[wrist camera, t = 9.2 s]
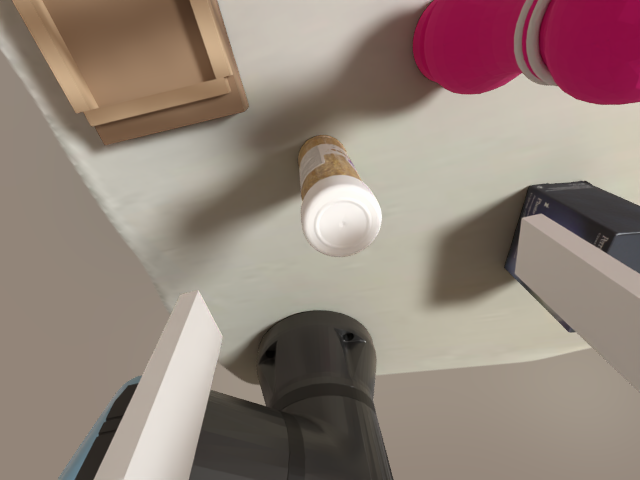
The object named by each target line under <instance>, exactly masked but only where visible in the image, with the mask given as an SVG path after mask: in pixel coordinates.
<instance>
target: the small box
mask: <svg viewBox="0 0 640 480" xmlns="http://www.w3.org/2000/svg"><path fill="white" fill-rule="evenodd" d="M537 214H543V215H545V216H546V217H548V218H550V219H551V220H553V221H554V222H556V223H558V224H559V225H561V226H563V227H564V228H566V229H567V230H569V231H571V232H572V233H574V234H576V235H577V236H579V237H580V238H582V239H584V240H585V241H587V242H589V243H590V244H592V245H594V246H595V247H597V248H598V249H600V250H602V251H603V252H605V253H607V254H608V255H610V256H611V257H613V258H615V259H616V260H618V261H620V262H621V263H623V264H624V265H626V266H628V267H629V268H631V269H633V270H634V271H636V272H638V273H639V274H640V206H639V205H636V204H634V203H632V202H629V201H627V200H625V199H623V198H621V197H618V196H616V195H614V194H611V193H609V192H607V191H604V190H602V189H600V188H598V187H595V186H593V185H592V184H590V183H588V182H587V181H578V182H571V183H558V184H557V183H555V184H540V185H532V186H530V187H529V189H528V192H527V196H526V199H525V202H524V206H523V209H522V212H521V215H520V219H519V222H518V225H517V228H516V232H515V235H514V238H513V241H512V245H511V248H510V251H509V254H508V257H507V261H506V264H505V267H504V268H505V269H506V270H507V271H508V272H509V273H510V274H511V275H512V276H513V277H514V278H515V279H516V280H517V281H518V282H519V283H520V284H521V285H522V286H523V287H524V288H525V289H526V290H527V291H528V292H529V293H530V294H531V295H532V296H533V297H534V298H535V299H536V300H537V301H538V302H539V303H540V304H541V305H542V306H543V307H544V308H545V309H546V310H547V311H548V312H549V313H550V314H551V315H552V316H553V317H554V318H555V319H556V320H557V321H558V322H559V323H560V324H561V325H562V326H563V327H564V328H565V329H566V330H567V331H568V332H575V331H574V330H573V329H572V328H571V327H570V326H569V325H568V324H567V323H566V322H565V321H564V320H563V319H562V318H561V317H560V316H559V315H558V314H557V313H555V312H554V311H553V310H552V309H551V308H550V307H549V306H548V305H547V304H546V303H545V302H544V301H543V300H542V299H541V298H540V297H539V296H538V295H537V294H536V293H535V292H533V291H532V290H531V289H530V288H529V287H528V286H527V285H526V284H525V283H524V282H523V281H522V280H521V279H520V278H519V277H518V276H517V275H516V274H515V267H516V259H517V251H518V243H519V236H520V228H521V220H522V218H523V217H528V216H532V215H537Z"/></svg>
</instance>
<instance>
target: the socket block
mask: <svg viewBox="0 0 640 480" xmlns="http://www.w3.org/2000/svg"><path fill="white" fill-rule="evenodd" d="M12 1H13V3H14V5H15V7H16V8H17V10H18V12H19V14H20V16H21V17H22V19H23V21H24V23H25V24H26V26H27V28H28V30H29V31H30V33H31V35H32V37H33V38H34V40H35V42H36V44H37V45H38V47H39V49H40V51H41V53H42V54H43V56H44V58H45V60H46V61H47V63H48V65H49V67H50V68H51V70H52V72H53V74H54V75H55V77H56V79H57V81H58V82H59V84H60V86H61V88H62V90H63V91H64V93H65V95H66V97H67V98H68V100H69V102H70V104H71V105H72V107H73V109H74V111H75V112H76V113H80V112H83V113H84V114H85V116H86V118H87V120H88V122H89V123H90V125H91V127H92V126H94V127H95V129H96V130H97V132H98V134H99V136H100V138H101V139H102V141H103V143H104V145H108V144H113V143H117V142H121V141H125V140H129V139H133V138H137V137H142V136H146V135H150V134H154V133H158V132H162V131H166V130H171V129H175V128H179V127H183V126H187V125H191V124H195V123H199V122H204V121H208V120H212V119H216V118H220V117H224V116H228V115H233V114H237V113H241V112H245V111H246V109H247V108H248V107H249V104H248V101H247V98H246V94H245V91H244V88H243V85H242V81H241V78H240V75H239V71H238V68H237V65H236V61H235V58H234V55H233V52H232V48H231V45H230V42H229V38H228V35H227V32H226V28H225V25H224V22H223V19H222V15H221V12H220V9H219V5H218V2H217V0H12Z"/></svg>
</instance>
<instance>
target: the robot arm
mask: <svg viewBox="0 0 640 480" xmlns="http://www.w3.org/2000/svg"><path fill="white" fill-rule="evenodd" d="M515 274H516V275H517V276H518V277H519V278H520V279H521V280H522V281H523V282H524V283H525V284H526V285H527V286H528V287H529V288H530V289H531V290H532V291H533V292H535V293H536V294H537V295H538V296H539V297H540V298H541V299H542V300H543V301H544V302H545V303H546V304H547V305H548V306H549V307H550V308H551V309H552V310H553V311H554V312H555V313H557V314H558V315H559V316H560V317H561V318H562V319H563V320H564V321H565V322H566V323H567V324H568V325H569V326H570V327H571V328H572V329H573V330H574V331H575V332H576V333H577V334H579V335H580V336H581V337H582V338H583V339H584V340H585V341H586V342H587V343H588V344H589V345H590V346H591V347H592V348H593V349H594V350H596V352H597V353H598V354H599V355H601V356H602V357H603V358H604V359H605V360H606V361H607V362H608V363H609V364H610V365H611V366H612V367H613V368H614V369H615V370H616V371H617V372H618V373H620V374H621V375H622V376H623V377H624V378H625V379H626V380H627V381H628V382H629V383H630V384H631V385H632V386H633V387H634V388H635V389H636V390H637V391H638V392H640V274H639V273H638V272H636V271H634V270H633V269H631V268H629V267H628V266H626V265H624V264H623V263H621V262H620V261H618V260H616V259H615V258H613V257H611V256H610V255H608V254H607V253H605V252H603V251H602V250H600V249H598V248H597V247H595V246H594V245H592V244H590V243H589V242H587V241H585V240H584V239H582V238H580V237H579V236H577V235H576V234H574V233H572V232H571V231H569V230H567V229H566V228H564V227H563V226H561V225H559V224H558V223H556V222H554V221H553V220H551V219H550V218H548V217H546V216H545V215H543V214H537V215H532V216H528V217H523V218H522V220H521V228H520V236H519V243H518V251H517V259H516V267H515ZM222 339H223V336H222V334H221V332H220V330H219V328H218V326H217V325H216V323H215V321H214V319H213V317H212V315H211V313H210V311H209V309H208V307H207V305H206V304H205V302H204V300H203V298H202V296H201V294H200V292H199V290H197V291H192V292H188V293H183V294H180V296H179V298H178V300H177V302H176V304H175V307H174V309H173V311H172V313H171V315H170V317H169V320H168V322H167V324H166V326H165V328H164V330H163V332H162V334H161V337H160V339H159V341H158V343H157V345H156V347H155V350H154V352H153V354H152V356H151V358H150V360H149V362H148V364H147V367H146V369H145V371H144V373H143V375H142V376H138V377H135V378H133V379H131V380H130V381H128V382H127V383H125V384H124V385H123V386H122V387H121V388H120V389H119V390H118V392H117V393H116V394H115V396H114V397H113V398H112V400H111V401H110V403H109V404H108V405H107V407H106V408H105V410H104V411H103V413H102V414H101V416H100V417H99V419H98V420H97V422H96V423H95V424H94V426H93V427H92V429H91V430H90V432H89V433H88V435H87V436H86V438H85V439H84V441H83V442H82V444H81V445H80V446H79V448H78V449H77V451H76V452H75V454H74V455H73V457H72V459H71V460H70V461H69V463H68V464H67V466H66V468H65V469H64V470H63V472H62V473H61V475H60V477H59V478H58V480H393V476H392V473H391V469H390V465H389V461H388V457H387V453H386V450H385V446H384V442H383V438H382V434H381V431H380V427H379V423H378V419H377V416H376V411H375V408H374V403H373V396H374V385H375V384H374V383H375V373H376V352H375V349H374V345H373V342H372V338H371V336H370V334H369V332H368V331H367V329H366V328H365V327H364V326H363V325H362V324H361V323H360V322H358V321H357V320H355V319H353V318H351V317H349V316H347V315H344V314H341V313H337V312H331V311H310V312H304V313H300V314H296V315H293V316H290V317H288V318H286V319H284V320H282V321H280V322H279V323H277V324H276V325H274V326H273V327H272V328H271V329H270V330H269V331H268V332H267V333H266V334H265V336H264V337H263V339H262V340H261V342H260V345H259V349H258V357H257V375H258V378H259V382H260V386H261V389H262V393H263V396H264V400H265V404H266V406H263V405H259V404H256V403H252V402H249V401H246V400H243V399H239V398H236V397H233V396H229V395H226V394H223V393H219V392H216V391H212V390H210V389H211V385H212V381H213V377H214V372H215V369H216V364H217V360H218V356H219V352H220V348H221V344H222Z"/></svg>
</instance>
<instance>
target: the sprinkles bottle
mask: <svg viewBox="0 0 640 480" xmlns="http://www.w3.org/2000/svg"><path fill="white" fill-rule="evenodd" d="M298 165H299V168H300V169H299V174H300V187H301V197H302V201H303V202H302V206H301V223H302V229H303V232H304V235H305V237H306V239H307V241H308V242H309V243H310V245H311V246H312V247H313V248H315V249H316V250H318V251H319V252H321V253H323V254H326V255H329V256H334V257H345V256H350V255H353V254H356V253H358V252H360V251H362V250H364V249H365V248H366V247H368V246H369V245H370V244H371V243H372V242H373V241H374V239H375V238H376V236H377V234H378V232H379V230H380V227H381V221H382V214H381V209H380V206H379V204H378V201H377V199H376V198H375V196H374V194H373V193H372V191H371V190H370V188H369V187H368V186H367V185H366V184H365V183H363V182H362V181H361V179H360V176H359V174H358V172H357V170H356V169H355V167H354V165H353V164H352V162H351V160H350V158H349V156H348V155H347V153H346V150H345V148H344V147H343V145H342V144H341V143H340V142H339V141H338V140H337V139H335V138H333V137H331V136H328V135H320V136H315V137H313V138H311V139H309V140H307V141H306V142H305V144H304V145H303V146H302V148H301V149H300V152H299V155H298Z"/></svg>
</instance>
